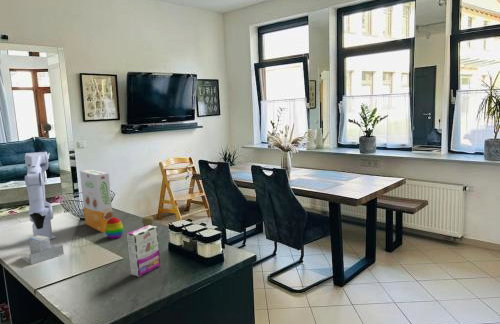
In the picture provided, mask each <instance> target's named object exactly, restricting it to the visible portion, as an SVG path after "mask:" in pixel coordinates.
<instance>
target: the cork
mask: <svg viewBox="0 0 500 324" xmlns="http://www.w3.org/2000/svg"><path fill="white" fill-rule="evenodd" d="M141 221H142V224H143V227H145V226H148V225H151V226H154V217H153V216H150V215H147V216H143V217H142V220H141Z"/></svg>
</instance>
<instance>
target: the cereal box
mask: <svg viewBox="0 0 500 324" xmlns="http://www.w3.org/2000/svg"><path fill="white" fill-rule="evenodd" d="M79 176H80V185H81V194H82V203H83V212H84V213H83V214H84V221H85V225H86V226H89V227H90V228H92V229H95V230H97V231H98V232H99V233H100V232H101V233H106V224H107V222H108V221H109V219H110V218H112V217H113V207H112V206H113V205H112V195H111V185H110V174H109V172H105V171H100V170H96V169H85V170H79Z"/></svg>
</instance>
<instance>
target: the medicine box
mask: <svg viewBox="0 0 500 324" xmlns="http://www.w3.org/2000/svg"><path fill="white" fill-rule="evenodd" d="M28 244H29V250H30V254H32V253H36V252H39V251H42V250H46V249H49V248H50V245H51V242H50V239H49V237H45V236H40V235H37V236H31V237H30V238H28Z"/></svg>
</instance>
